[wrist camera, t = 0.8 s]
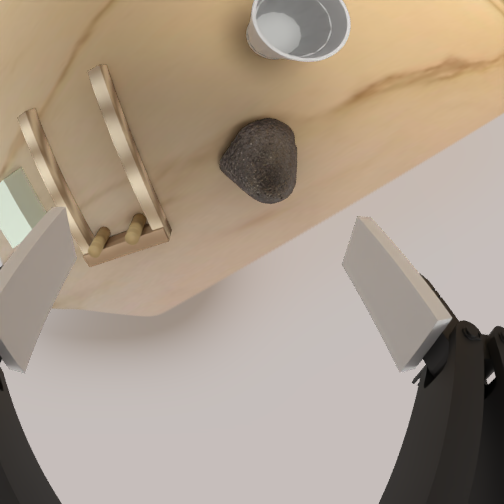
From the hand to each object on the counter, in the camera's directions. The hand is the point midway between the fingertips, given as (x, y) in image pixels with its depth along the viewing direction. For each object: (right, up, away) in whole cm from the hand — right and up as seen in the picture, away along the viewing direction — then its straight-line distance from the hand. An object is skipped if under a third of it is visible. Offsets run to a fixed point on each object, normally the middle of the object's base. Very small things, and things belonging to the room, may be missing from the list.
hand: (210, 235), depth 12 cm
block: (-32, +7, +20) cm, 39 cm away
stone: (+3, +11, +23) cm, 26 cm away
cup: (+4, +24, +14) cm, 28 cm away
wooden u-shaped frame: (-19, +10, +20) cm, 29 cm away
